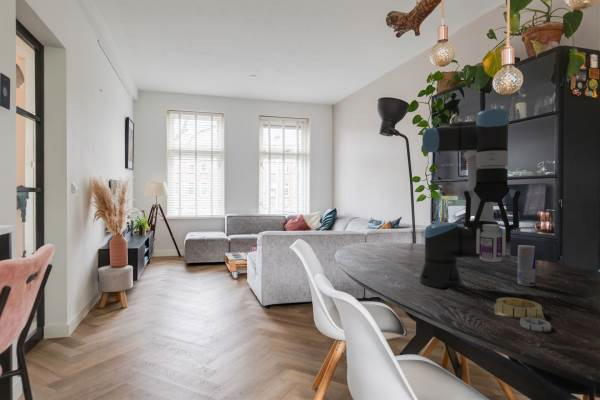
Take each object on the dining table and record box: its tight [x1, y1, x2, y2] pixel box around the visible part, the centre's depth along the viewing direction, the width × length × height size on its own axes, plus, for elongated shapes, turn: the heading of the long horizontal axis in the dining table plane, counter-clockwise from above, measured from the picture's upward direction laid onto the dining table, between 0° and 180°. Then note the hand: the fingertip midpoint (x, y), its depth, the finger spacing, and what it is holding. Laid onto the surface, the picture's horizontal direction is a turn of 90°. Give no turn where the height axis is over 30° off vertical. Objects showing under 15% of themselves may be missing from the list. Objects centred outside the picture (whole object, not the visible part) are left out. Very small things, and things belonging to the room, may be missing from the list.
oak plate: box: [493, 303, 547, 321], centre depth 102 cm, size 12×11×1 cm
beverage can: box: [517, 244, 536, 287], centre depth 134 cm, size 6×6×15 cm
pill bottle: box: [479, 224, 503, 263], centre depth 96 cm, size 5×5×10 cm
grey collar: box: [519, 317, 552, 333], centre depth 90 cm, size 6×6×2 cm
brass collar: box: [495, 297, 543, 319], centre depth 102 cm, size 11×11×2 cm
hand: (490, 253), depth 96 cm, fingers closed on pill bottle, 5 cm apart
